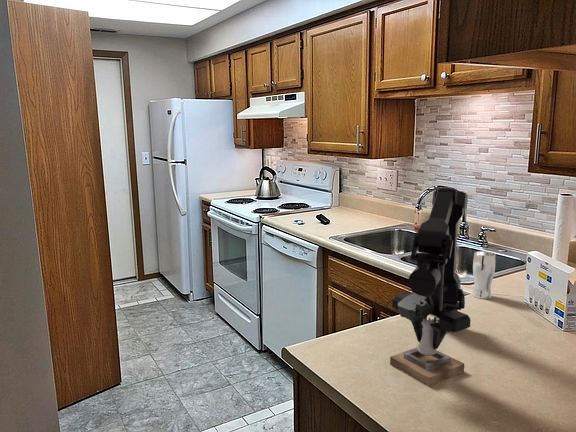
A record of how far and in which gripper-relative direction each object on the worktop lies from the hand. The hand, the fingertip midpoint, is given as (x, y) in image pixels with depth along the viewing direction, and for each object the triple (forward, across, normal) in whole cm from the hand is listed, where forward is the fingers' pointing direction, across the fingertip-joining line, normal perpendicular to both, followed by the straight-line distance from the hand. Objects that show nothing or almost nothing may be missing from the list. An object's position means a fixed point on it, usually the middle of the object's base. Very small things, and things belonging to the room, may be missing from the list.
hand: (427, 345), depth 111 cm
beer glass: (+6, -24, +55) cm, 60 cm away
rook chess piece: (+2, 0, 0) cm, 2 cm away
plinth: (+6, 0, 0) cm, 6 cm away
